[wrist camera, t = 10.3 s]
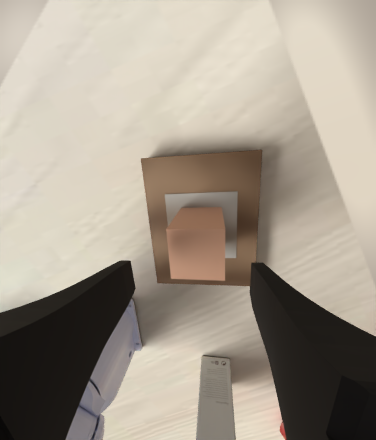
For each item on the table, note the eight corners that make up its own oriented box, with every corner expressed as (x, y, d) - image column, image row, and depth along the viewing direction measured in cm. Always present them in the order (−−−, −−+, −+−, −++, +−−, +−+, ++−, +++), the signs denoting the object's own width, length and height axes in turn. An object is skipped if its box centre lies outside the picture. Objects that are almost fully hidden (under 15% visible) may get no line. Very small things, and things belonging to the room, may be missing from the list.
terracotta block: (221, 244, 19) (225, 280, 13) (183, 244, 19) (171, 278, 14) (221, 206, 18) (225, 228, 12) (180, 207, 18) (166, 229, 13)
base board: (250, 275, 22) (254, 286, 20) (162, 273, 23) (157, 283, 21) (256, 151, 18) (262, 149, 16) (147, 158, 19) (140, 158, 17)
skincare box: (200, 354, 27) (191, 493, 16) (230, 357, 26) (242, 504, 15) (202, 382, 29) (194, 524, 18) (229, 385, 28) (240, 535, 17)
